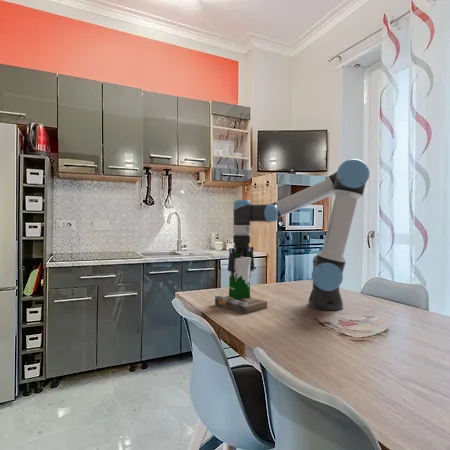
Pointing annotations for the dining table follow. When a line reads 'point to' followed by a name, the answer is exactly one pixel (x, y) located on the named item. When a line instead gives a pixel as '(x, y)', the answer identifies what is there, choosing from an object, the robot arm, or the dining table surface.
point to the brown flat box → (240, 304)
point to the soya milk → (240, 278)
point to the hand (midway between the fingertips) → (241, 285)
